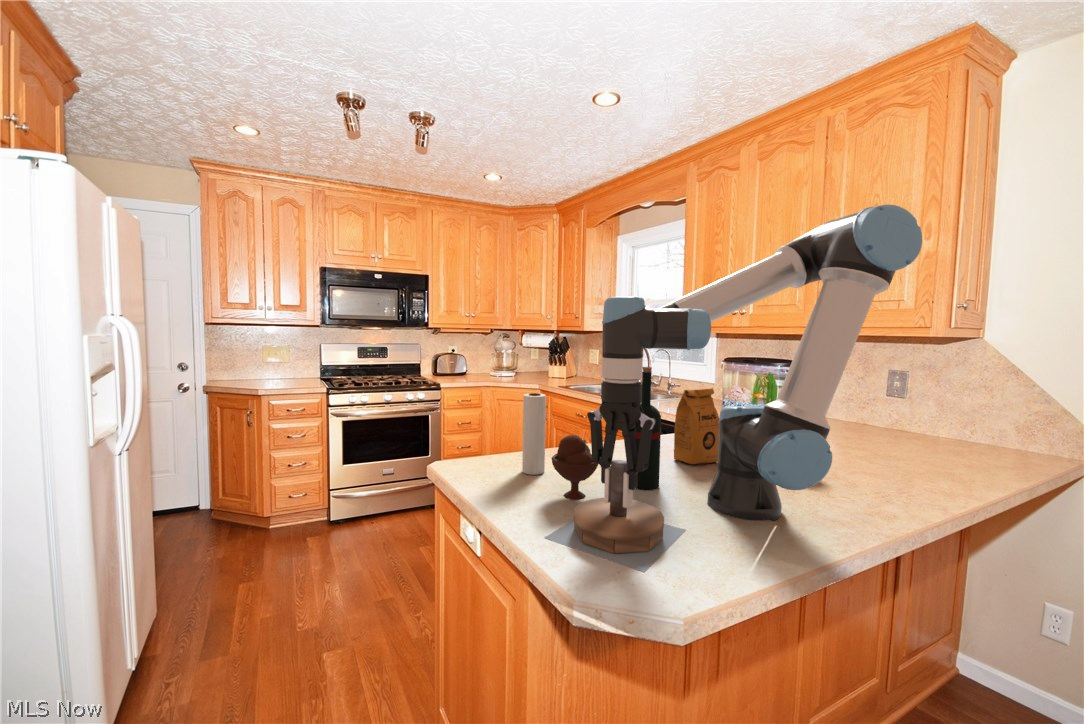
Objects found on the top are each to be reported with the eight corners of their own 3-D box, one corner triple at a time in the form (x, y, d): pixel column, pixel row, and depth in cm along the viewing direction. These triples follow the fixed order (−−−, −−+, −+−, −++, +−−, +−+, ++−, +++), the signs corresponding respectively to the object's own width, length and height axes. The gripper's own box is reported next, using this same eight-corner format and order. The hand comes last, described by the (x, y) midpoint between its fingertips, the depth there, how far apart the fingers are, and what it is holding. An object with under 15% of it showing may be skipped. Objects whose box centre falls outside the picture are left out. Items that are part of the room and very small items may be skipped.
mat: (686, 532, 92) (686, 529, 92) (644, 575, 76) (644, 572, 76) (596, 507, 104) (596, 505, 104) (543, 540, 88) (543, 537, 88)
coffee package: (725, 464, 139) (728, 390, 137) (690, 468, 134) (694, 391, 132) (701, 455, 148) (704, 385, 146) (669, 459, 143) (671, 387, 142)
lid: (676, 528, 92) (679, 460, 91) (640, 564, 78) (643, 483, 77) (600, 508, 102) (601, 446, 101) (555, 536, 88) (557, 464, 87)
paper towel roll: (533, 476, 124) (535, 396, 123) (517, 471, 128) (518, 394, 127) (551, 471, 130) (553, 393, 128) (535, 466, 134) (537, 391, 132)
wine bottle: (642, 475, 127) (646, 364, 124) (665, 488, 117) (670, 368, 115) (616, 478, 124) (620, 365, 121) (638, 492, 114) (642, 368, 112)
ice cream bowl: (600, 507, 104) (602, 440, 103) (550, 506, 105) (551, 439, 103) (596, 490, 115) (598, 429, 114) (550, 489, 115) (551, 428, 114)
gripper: (671, 382, 86) (666, 507, 88) (593, 375, 96) (591, 488, 97) (655, 386, 80) (650, 520, 82) (573, 378, 89) (571, 499, 91)
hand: (618, 502), depth 90 cm, fingers closed on lid, 3 cm apart
